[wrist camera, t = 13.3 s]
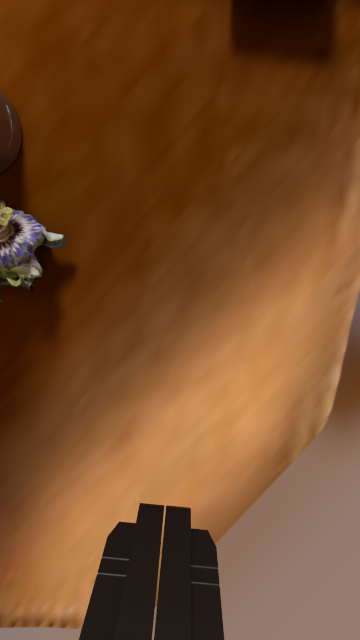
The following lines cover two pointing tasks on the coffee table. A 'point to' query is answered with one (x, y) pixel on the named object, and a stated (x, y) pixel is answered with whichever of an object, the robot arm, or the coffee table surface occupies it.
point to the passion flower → (22, 246)
